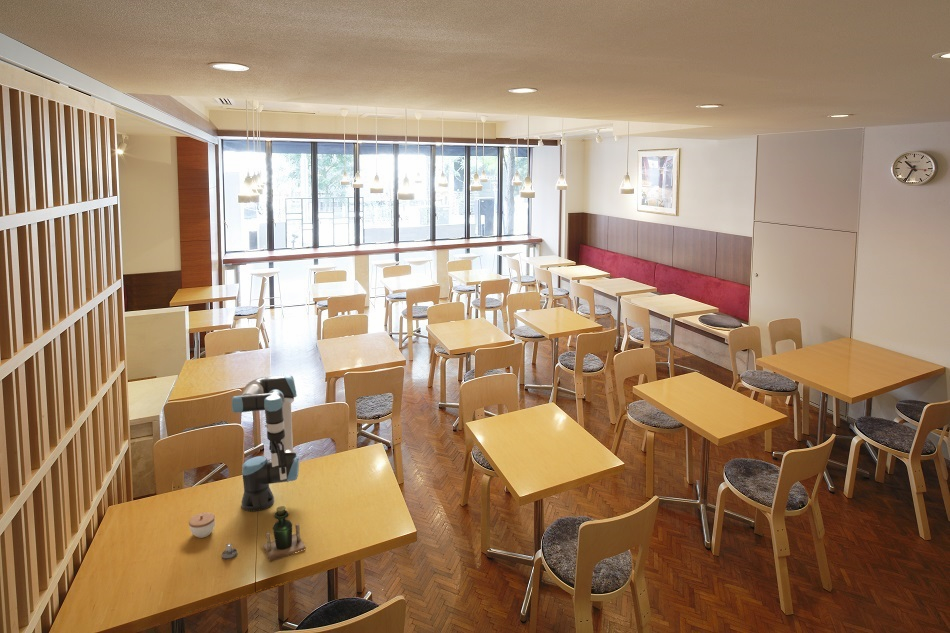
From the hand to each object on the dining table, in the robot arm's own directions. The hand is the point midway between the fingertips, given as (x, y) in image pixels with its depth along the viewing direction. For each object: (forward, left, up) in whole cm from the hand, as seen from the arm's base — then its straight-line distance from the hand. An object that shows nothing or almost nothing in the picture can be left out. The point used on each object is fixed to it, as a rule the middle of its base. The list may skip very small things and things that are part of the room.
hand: (279, 472), depth 264 cm
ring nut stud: (+9, -25, -28) cm, 39 cm away
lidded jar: (-14, -32, -28) cm, 45 cm away
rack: (+17, -4, -28) cm, 33 cm away
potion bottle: (+17, -4, -26) cm, 32 cm away
